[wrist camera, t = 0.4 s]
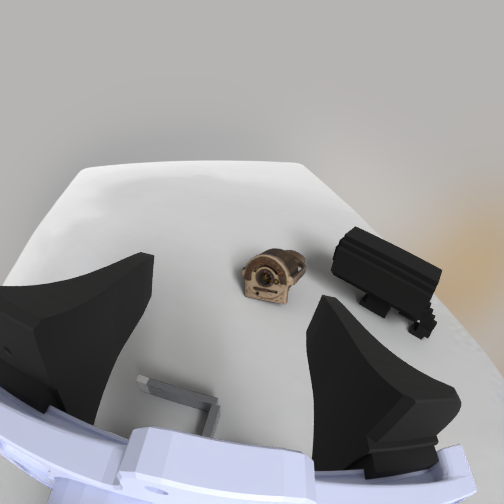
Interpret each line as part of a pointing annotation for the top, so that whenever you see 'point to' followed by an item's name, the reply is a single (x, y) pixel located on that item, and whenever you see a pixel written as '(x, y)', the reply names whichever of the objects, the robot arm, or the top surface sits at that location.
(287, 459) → the robot arm
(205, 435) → the clip cradle
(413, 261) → the security camera
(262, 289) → the mechanical counter
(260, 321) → the top surface
